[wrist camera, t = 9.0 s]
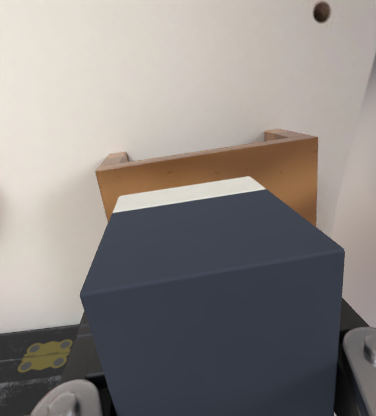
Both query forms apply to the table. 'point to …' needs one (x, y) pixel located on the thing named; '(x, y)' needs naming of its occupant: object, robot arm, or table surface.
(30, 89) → the table surface
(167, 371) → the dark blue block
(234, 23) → the table surface
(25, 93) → the table surface
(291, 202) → the shoe shelf
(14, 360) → the cash box
